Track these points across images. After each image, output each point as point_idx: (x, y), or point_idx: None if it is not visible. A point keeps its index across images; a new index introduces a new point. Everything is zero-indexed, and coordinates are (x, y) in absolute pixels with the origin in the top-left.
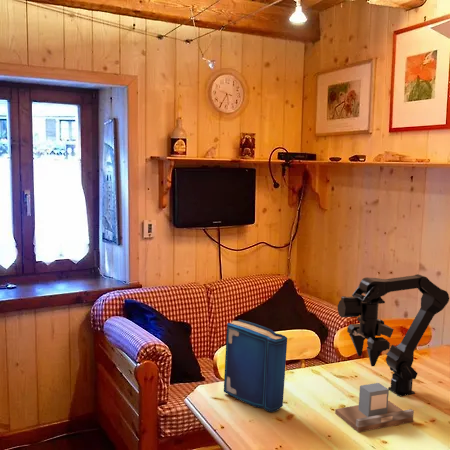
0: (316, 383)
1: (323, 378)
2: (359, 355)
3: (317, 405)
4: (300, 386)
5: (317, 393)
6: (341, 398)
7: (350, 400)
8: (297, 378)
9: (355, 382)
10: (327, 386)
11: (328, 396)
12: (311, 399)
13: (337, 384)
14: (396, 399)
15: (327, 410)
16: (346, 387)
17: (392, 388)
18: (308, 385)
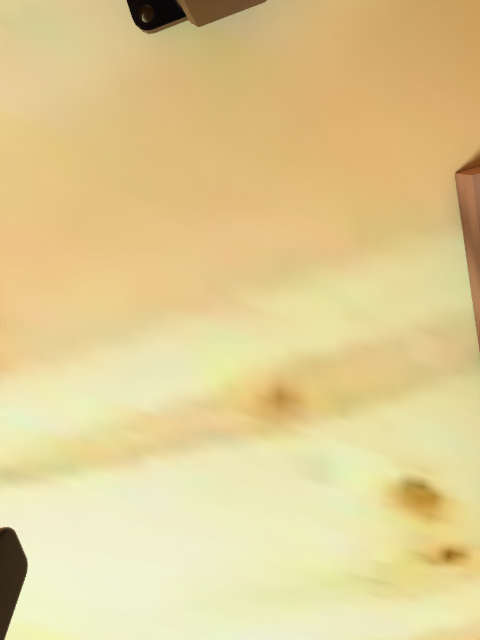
0: (90, 547)
1: (2, 491)
2: (17, 560)
3: (390, 610)
4: (142, 628)
5: (235, 575)
6: (312, 471)
7: (347, 427)
8: (31, 618)
9: (34, 297)
10: (129, 501)
11: (278, 532)
12: (313, 618)
13: (90, 434)
14: (369, 38)
15: (460, 582)
16: (135, 391)
17: (222, 10)
18: (124, 591)
